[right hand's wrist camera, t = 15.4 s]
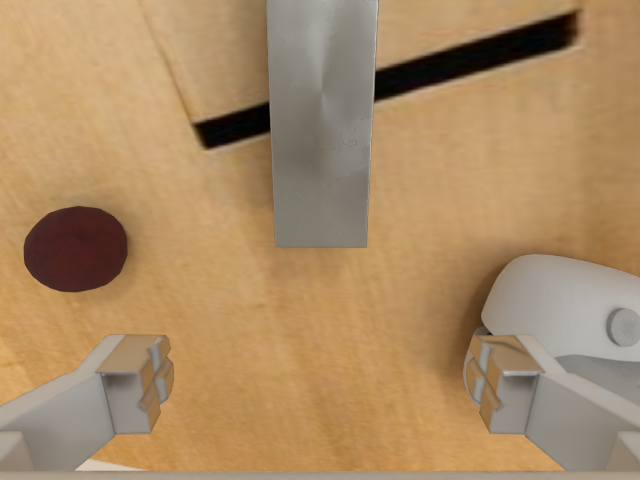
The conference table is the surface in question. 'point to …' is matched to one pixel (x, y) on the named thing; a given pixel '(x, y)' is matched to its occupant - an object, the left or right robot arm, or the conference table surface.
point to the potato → (76, 249)
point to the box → (321, 119)
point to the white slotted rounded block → (571, 317)
